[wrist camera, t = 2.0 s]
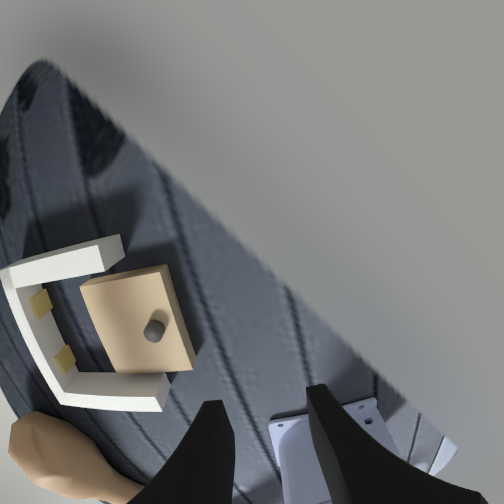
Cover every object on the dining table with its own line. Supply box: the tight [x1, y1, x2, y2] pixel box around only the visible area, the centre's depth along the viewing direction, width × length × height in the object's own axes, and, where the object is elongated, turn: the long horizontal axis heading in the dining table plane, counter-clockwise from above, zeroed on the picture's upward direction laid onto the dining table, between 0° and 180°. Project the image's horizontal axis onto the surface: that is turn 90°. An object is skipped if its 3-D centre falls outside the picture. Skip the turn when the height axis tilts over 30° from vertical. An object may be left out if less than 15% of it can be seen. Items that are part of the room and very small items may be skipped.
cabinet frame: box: [0, 234, 171, 412], centre depth 17 cm, size 10×12×3 cm
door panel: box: [80, 264, 196, 374], centre depth 17 cm, size 6×7×3 cm
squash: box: [8, 411, 145, 504], centre depth 19 cm, size 11×20×9 cm, turn 37°
